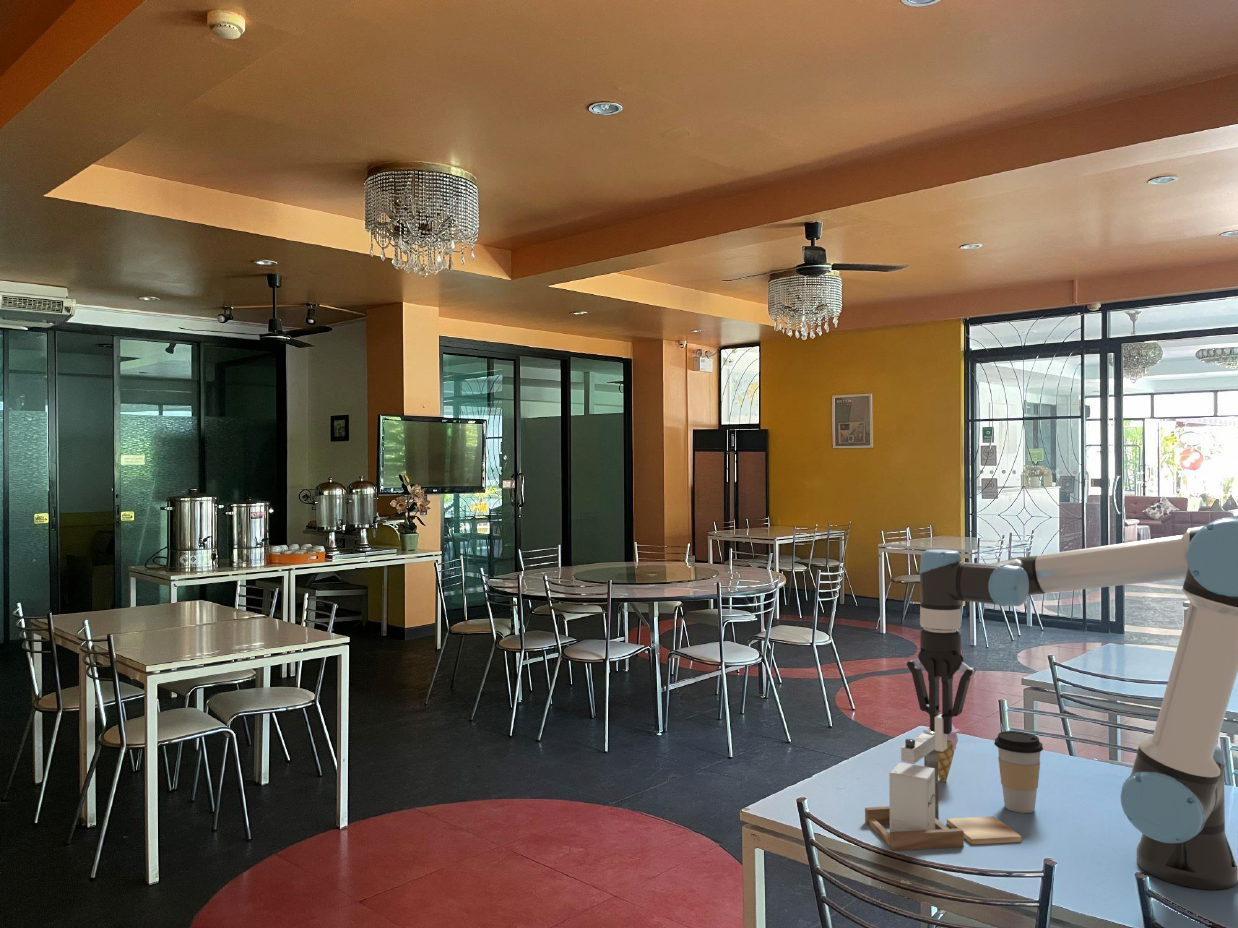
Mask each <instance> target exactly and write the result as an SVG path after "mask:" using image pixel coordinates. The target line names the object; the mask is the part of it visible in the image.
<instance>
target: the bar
mask: <svg viewBox="0 0 1238 928" xmlns="http://www.w3.org/2000/svg"><path fill="white" fill-rule="evenodd" d="M934 749H935V732H932V731H931V730H929V729H924V730H923V731H922V732H921V733H920V734H919V735H916V737H914V738H905V744H904V745H902V746H901V747H900V753H901V755H900V760H901V762H900V763H905V764H911V765H916V763H918V762H919V761H921V760H922V758H924V756H926V755H927V754H928V753H930V752H931V751H933V750H934Z"/></svg>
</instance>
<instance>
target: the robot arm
mask: <svg viewBox="0 0 1238 928" xmlns="http://www.w3.org/2000/svg"><path fill="white" fill-rule="evenodd" d="M919 565H920V566H919V573H918V574H919V592H920V593H919V596H920V603H919V605H920V606H919V607H920V611H919V613H920V614H919V625H920V626H921V627H922V628H921V629H920V631H919V633H920V634H919V635H920V636H919V638H920V642H919V643H920V644H919V645H920V646H919V647H920V650H919V652H918V654H917V657H916V658H914V659H911V660H908V661H907V663H906V666H907V668H908V669H909V671H910V673H911V676H912V681H913V684H914V690H915V692H916V696H917V702H918V706H919V709H920V711H922V712H925V713H927V714H928V715H929V722H930V724H929V727H930V730H931V731H932V732H935V750H936V751H941V752H943V751H944V750H945V749H947V734H950V733H951V731H952V724H953V718H955V717H957V716H959V715H960V714H962V712H963V709H964V706H965V702H966V697H967V693H968V690H969V685H970V681H971V679H972V678H973V676H974V675H975V673H976V671H977V670H976V668H975V667H974V666H972V667H970V666H969V665H968V664H966V663H965V661H964V657H963V655H962V633H961V631H960V630H959V629H961V627H962V614H961V612H962V610H961V609H962V602H972V603H977V604H978V603H979V604H986V605H987V604H989V605H996V606H997V605H998V606H1000V607H1007V606H1008V607H1020V606H1022V605H1024V604H1025V602H1026V600H1027V598H1028V596H1036V595H1038V596H1039V595H1044V594H1051V593H1060V592H1061V593H1063V592H1070V591H1080V590H1089V589H1097V588H1107V587H1117V586H1124V585H1135V584H1144V583H1153V582H1161V581H1163V582H1165V581H1172V580H1182V579H1184V582H1183V584H1182V585H1183V586H1182V589H1181V590H1182V592H1183V593H1184V595H1185V596H1186V597H1187V599H1188V601H1189V605H1188V608H1187V613H1186V616H1185V620H1184V623H1183V626H1182V630H1181V634H1180V637H1179V641H1178V645H1177V648H1176V650H1175V651H1176V652H1175V655H1174V658H1173V663H1172V665H1171V670H1170V672H1169V677H1168V680H1167V683H1166V688H1165V691H1164V695H1163V699H1162V701H1161V702H1162V703H1161V705H1160V709H1159V713H1158V716H1157V719H1156V723H1155V727H1154V731H1153V734H1152V736H1149V737H1148V738H1146V739H1143V740H1141V741H1140V742H1139V744H1138V748H1137V751H1136V755H1135V758H1134V762H1133V766H1132V769H1131V773H1130V776H1128V777H1127V778H1126V779H1125V781H1124V782H1123V784H1122V786H1121V787H1122V788H1121V791H1120V805H1121V808H1122V810H1123V813H1124V815H1125V817H1126V818H1127V819H1128V821H1129V822H1130V823H1131V825H1132V826H1133V827H1134V828H1135V829H1136V830H1137V831H1139V832H1140V833H1142V834H1141V838H1140V841H1139V842H1138V844H1137V847H1136V863H1137V865H1138V866H1139V867H1140V868H1141V869H1142V870H1143V871H1144V872H1146V873H1148V874H1150V875H1151V876H1154V877H1155V878H1158V879H1160V880H1163V881H1166V882H1168V883H1172V884H1175V885H1177V886H1178V885H1179V886H1183V887H1188V888H1193V889H1201V890H1225V889H1226V890H1227V889H1229V888H1232V887H1234V886H1236V885H1237V883H1238V865H1237V863H1236V861H1235V857H1234V854H1233V852H1232V849H1231V846H1230V843H1229V841H1228V838H1227V835H1226V824H1225V823H1226V815H1225V814H1226V811H1225V809H1226V807H1225V803H1226V801H1225V767H1227V766H1226V762H1225V757H1224V756H1225V755H1224V751H1223V750H1222V749H1221V748H1220V747H1219V746H1217V743H1218V740H1219V737H1220V734H1221V730H1222V726H1223V723H1224V719H1225V716H1226V712H1227V710H1228V706H1229V703H1230V699H1231V697H1232V694H1233V693H1232V692H1233V689H1234V685H1235V681H1236V679H1237V675H1238V515H1233V516H1229V517H1228V516H1227V517H1223V518H1222V517H1221V518H1218V519H1216V520H1212V521H1210V522H1208V523H1206V524H1205V525H1202V526H1201V525H1200V526H1195V527H1189V528H1188V529H1187V530H1186V531H1185V532H1184V534H1180V535H1179V534H1178V535H1172V536H1165V537H1159V538H1158V537H1157V538H1152V539H1144V540H1143V539H1142V540H1136V541H1129V542H1123V543H1115V544H1114V543H1113V544H1108V545H1102V546H1095V547H1087V548H1080V549H1072V550H1065V551H1059V552H1051V553H1044V554H1039V555H1031V556H1016V557H1012V558H1008V559H1006V560H1002V561H997V562H992V563H991V562H990V563H981V562H978V563H977V562H969V561H968V562H967V561H962V558H961V553H960V552H959V551H957V550H951V549H926V550H924V551H923V552H922V553H921V554H920V563H919ZM922 666H923V668H924V669H925V671H926V673H927V680H928V690H927V685H926V682H925V678H924V674H923V670H922ZM959 669H960V671H959V674H960V679H959V682H958V685H957V686H958V687H957V690H956V694H955V698H954V697H953V681H954V676H955V674H956V673H957V671H958V670H959ZM940 679H941V680H940ZM940 683H941V695H942V696H941V697H942V699H941V702H942V703H941V709H940ZM953 698H954V700H953ZM941 710H942V711H941ZM940 712H942V713H940Z"/></svg>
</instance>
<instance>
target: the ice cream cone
mask: <svg viewBox="0 0 1238 928" xmlns="http://www.w3.org/2000/svg"><path fill="white" fill-rule="evenodd" d="M928 724H929V725H930V721H929V722H928ZM927 730H930V726H929V727H928V728H927ZM959 732H961V729H959V728H956V727H955V726H954V724H953V723H952V731H951V733H950V734H947V749H945V750H944V751H943V752H941V751H938V780H939V782H941V783H942V782H943V783H945V782H947V780H948V776H949V773H950V769H951V766H952V762H953V758H954V755H955V750H957V744H958V741H959V737H958V735H957V733H959Z"/></svg>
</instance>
